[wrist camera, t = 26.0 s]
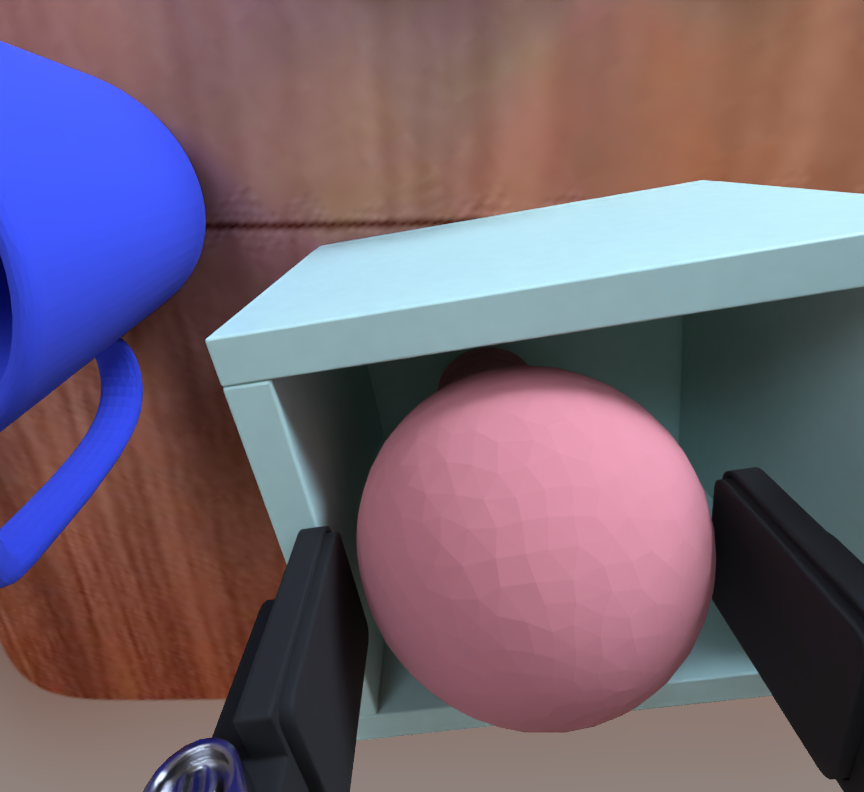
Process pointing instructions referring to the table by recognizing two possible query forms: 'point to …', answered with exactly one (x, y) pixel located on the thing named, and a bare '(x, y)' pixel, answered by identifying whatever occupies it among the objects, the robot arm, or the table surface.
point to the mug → (81, 264)
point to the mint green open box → (570, 366)
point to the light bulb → (535, 546)
